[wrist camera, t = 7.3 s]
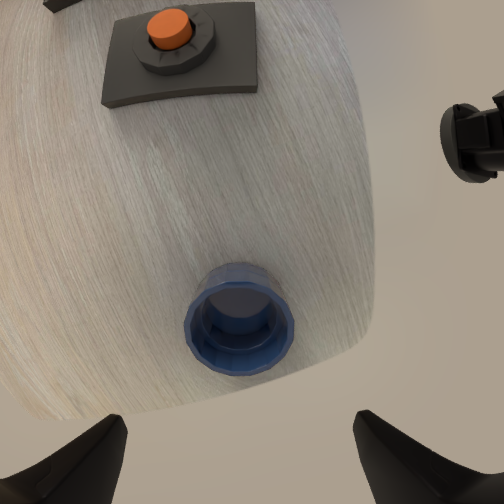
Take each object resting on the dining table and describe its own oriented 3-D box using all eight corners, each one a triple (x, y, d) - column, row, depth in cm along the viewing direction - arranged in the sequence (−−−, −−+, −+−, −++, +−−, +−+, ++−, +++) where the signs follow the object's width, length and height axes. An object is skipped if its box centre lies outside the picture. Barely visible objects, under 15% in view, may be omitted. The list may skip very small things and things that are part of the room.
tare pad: (254, 11, 15) (255, -11, 12) (256, 93, 17) (259, 76, 14) (120, 28, 15) (107, 11, 12) (108, 109, 16) (90, 98, 13)
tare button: (193, 19, 13) (189, 5, 11) (191, 47, 13) (186, 34, 12) (156, 25, 13) (149, 12, 11) (152, 53, 13) (144, 41, 12)
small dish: (283, 259, 19) (296, 279, 15) (282, 339, 21) (291, 373, 16) (192, 262, 19) (178, 282, 15) (199, 341, 20) (191, 375, 16)
